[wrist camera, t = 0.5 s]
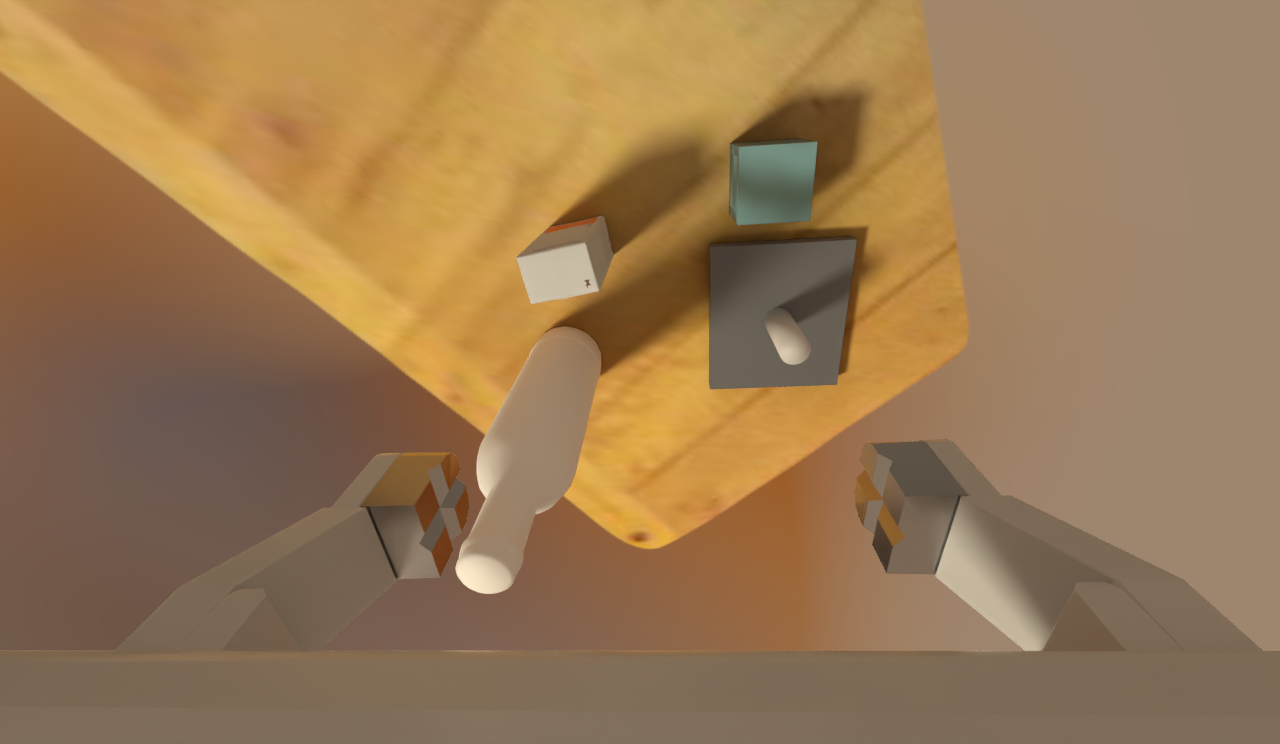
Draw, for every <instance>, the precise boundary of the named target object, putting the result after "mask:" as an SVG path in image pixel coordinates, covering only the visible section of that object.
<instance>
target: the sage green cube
mask: <svg viewBox="0 0 1280 744" xmlns="http://www.w3.org/2000/svg"><path fill="white" fill-rule="evenodd" d="M817 143H818V142H816V141H810V140H804V139H785V140H770V141H756V142H741V143H730V187H729V214H730V215H731V217H732V218H733V219H734V221H735V222H736V224H737V225H750V224H767V223H785V222H803V221H810V217H811V207H812V196H813V185H814V175H815V164H816V154H817Z"/></svg>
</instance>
